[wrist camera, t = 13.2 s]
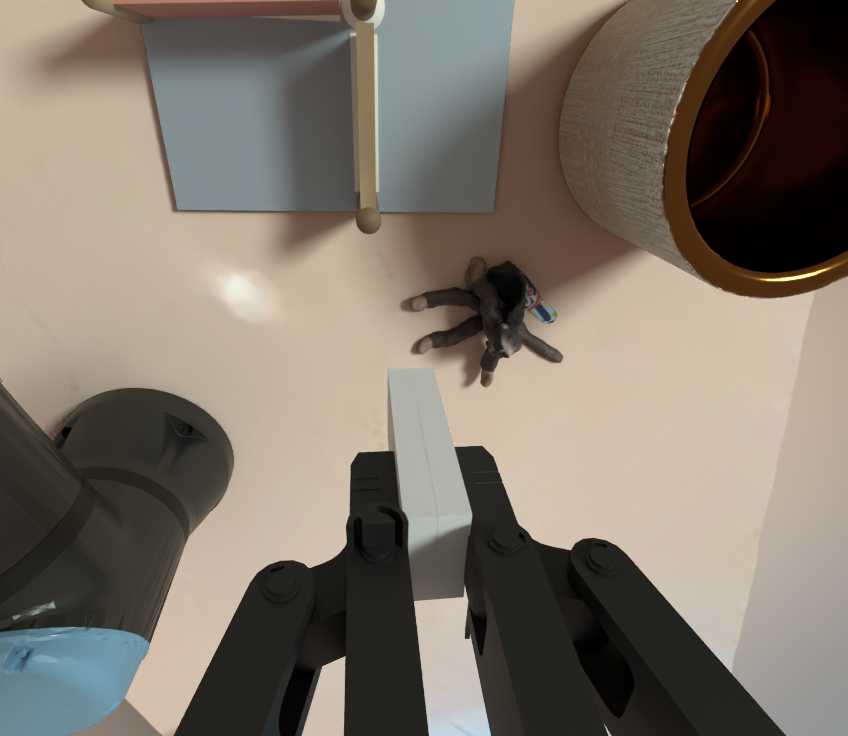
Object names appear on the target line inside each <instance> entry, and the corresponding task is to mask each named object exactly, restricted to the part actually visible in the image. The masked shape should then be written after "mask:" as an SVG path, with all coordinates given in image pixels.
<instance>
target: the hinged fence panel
mask: <svg viewBox="0 0 848 736" xmlns="http://www.w3.org/2000/svg"><path fill="white" fill-rule="evenodd" d="M82 2H83V3H84V4H85V5H87V6H88V7H89V8H91V9H94V10H97V11H100V12H104V13H107V14H110V15H113V16H117V17H120V18H123V19H127V20H130V21H133V22H137V23H140V24H145V25H146V24H150V23H151V22H152V21H153V20H154V18H204V17H254V16H305V15H340V5H339V0H82Z"/></svg>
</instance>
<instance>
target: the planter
mask: <svg viewBox="0 0 848 736" xmlns="http://www.w3.org/2000/svg"><path fill="white" fill-rule="evenodd" d="M559 152H560V160H561V165H562V170H563V173H564V177H565V180H566V182H567V185H568V187H569V189H570V191H571V193H572V195H573V197H574V198H575V200H576V202H577V203H578V204H579V206H580V207H581V208H582V209H583V211H584V212H585V213H586V214H587V215H588V216H589V217H590V218H591V219H592V220H594V221H595V222H596V223H597V224H599V225H600V226H601V227H603V228H604V229H606V230H608V231H609V232H611V233H613V234H615V235H617V236H618V237H620V238H622V239H624V240H626V241H628V242H630V243H632V244H634V245H636V246H638V247H640V248H642V249H644V250H646V251H647V252H649V253H651V254H653V255H655V256H657V257H659V258H661V259H663V260H665V261H667V262H669V263H671V264H672V265H674V266H676V267H678V268H680V269H682V270H684V271H685V272H687V273H689V274H691V275H693V276H695V277H696V278H698V279H700V280H702V281H704V282H706V283H707V284H709V285H711V286H713V287H715V288H718V289H720V290H722V291H725V292H727V293H731V294H734V295H738V296H743V297H749V298H760V299H770V298H782V297H789V296H795V295H799V294H803V293H807V292H810V291H814V290H817V289H819V288H822V287H825V286H827V285H830V284H832V283H835V282H837V281H839V280H841V279H843V278H845V277H847V276H848V0H630V1H629V2H627V3H626V4H625V5H624V6H623V7H621V8H620V9H619V10H618V11H617V12H616V13H615V14H614V15H613V16H612V17H611V18H610V19H609V20H608V21H607V22H606V23H605V24H604V25H603V26H602V28H601V29H600V30H599V31H598V32H597V34H596V35H595V36H594V38H593V39H592V40H591V42H590V43H589V45H588V46H587V48H586V50H585V51H584V53H583V55H582V56H581V58H580V60H579V62H578V64H577V66H576V68H575V70H574V72H573V75H572V77H571V80H570V82H569V85H568V88H567V91H566V94H565V98H564V102H563V106H562V111H561V117H560V125H559Z"/></svg>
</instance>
